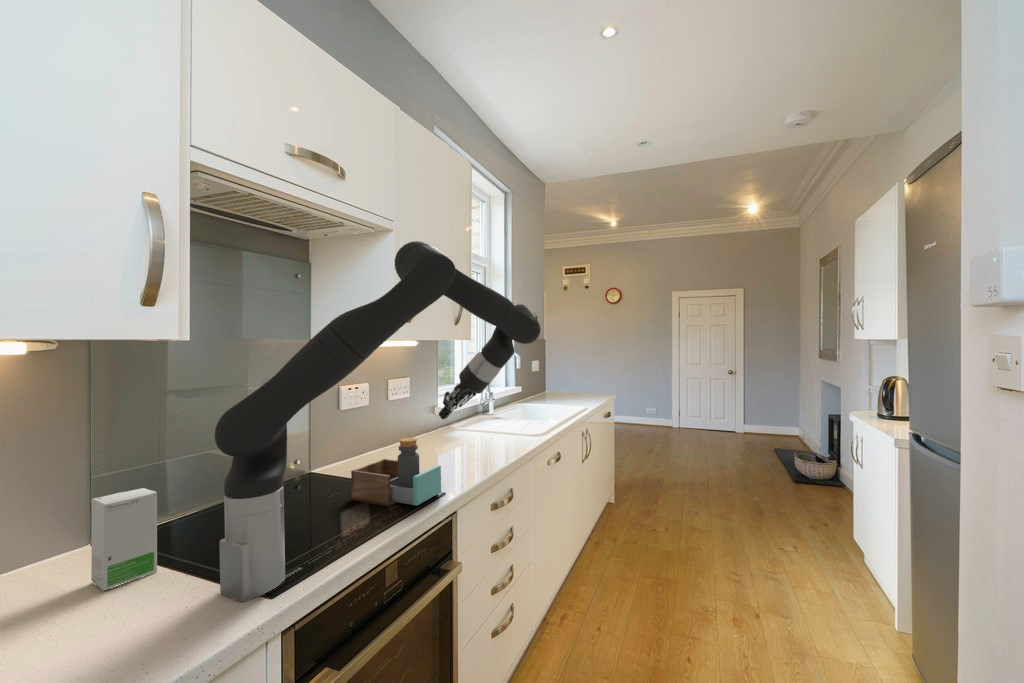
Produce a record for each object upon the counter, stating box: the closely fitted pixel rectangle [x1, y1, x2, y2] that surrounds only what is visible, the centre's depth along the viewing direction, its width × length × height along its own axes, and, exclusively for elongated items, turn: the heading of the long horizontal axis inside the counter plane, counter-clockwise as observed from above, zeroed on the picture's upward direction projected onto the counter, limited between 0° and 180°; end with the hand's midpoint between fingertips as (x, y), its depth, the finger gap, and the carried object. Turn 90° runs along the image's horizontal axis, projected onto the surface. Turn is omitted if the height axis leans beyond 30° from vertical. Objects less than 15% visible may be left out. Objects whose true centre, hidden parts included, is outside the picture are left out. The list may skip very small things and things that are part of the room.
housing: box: [350, 458, 398, 507], centre depth 125 cm, size 13×13×8 cm
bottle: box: [397, 437, 421, 489], centre depth 121 cm, size 6×6×15 cm
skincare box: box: [90, 487, 158, 591], centre depth 83 cm, size 8×7×16 cm
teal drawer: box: [390, 465, 442, 506], centre depth 121 cm, size 11×12×7 cm
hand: (442, 416), depth 117 cm, fingers closed
